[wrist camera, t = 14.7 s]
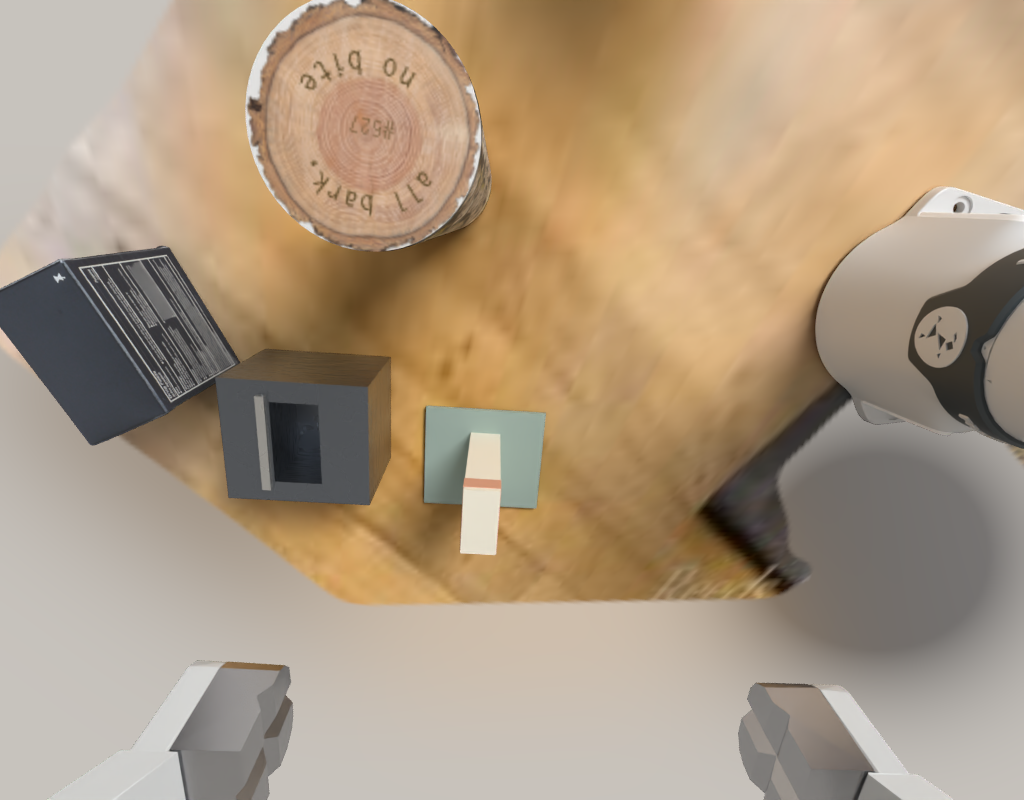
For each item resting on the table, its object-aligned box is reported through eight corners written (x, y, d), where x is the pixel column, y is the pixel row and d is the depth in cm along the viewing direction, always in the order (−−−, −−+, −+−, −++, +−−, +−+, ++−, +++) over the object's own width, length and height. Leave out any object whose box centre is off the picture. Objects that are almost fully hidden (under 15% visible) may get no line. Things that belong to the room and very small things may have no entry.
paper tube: (483, 238, 40) (462, 270, 17) (394, 221, 40) (242, 230, 16) (499, 141, 38) (499, 21, 15) (404, 121, 38) (246, -35, 14)
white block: (500, 433, 45) (501, 491, 36) (496, 487, 47) (496, 555, 37) (470, 431, 45) (462, 489, 36) (467, 485, 47) (459, 553, 37)
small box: (96, 278, 41) (-32, 298, 31) (169, 243, 40) (61, 252, 30) (178, 397, 44) (85, 451, 34) (246, 367, 43) (171, 413, 33)
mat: (545, 412, 45) (545, 414, 45) (536, 506, 48) (536, 508, 48) (426, 405, 45) (426, 407, 44) (424, 500, 48) (424, 502, 47)
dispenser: (390, 357, 43) (366, 388, 35) (390, 457, 46) (368, 507, 38) (265, 349, 43) (212, 379, 35) (273, 451, 46) (226, 500, 38)
